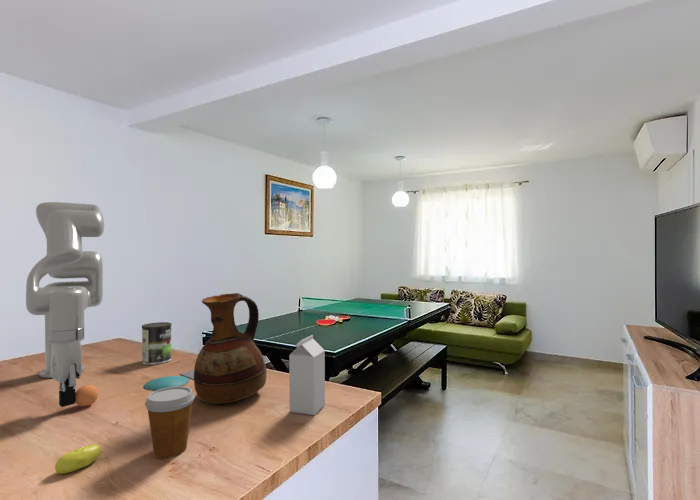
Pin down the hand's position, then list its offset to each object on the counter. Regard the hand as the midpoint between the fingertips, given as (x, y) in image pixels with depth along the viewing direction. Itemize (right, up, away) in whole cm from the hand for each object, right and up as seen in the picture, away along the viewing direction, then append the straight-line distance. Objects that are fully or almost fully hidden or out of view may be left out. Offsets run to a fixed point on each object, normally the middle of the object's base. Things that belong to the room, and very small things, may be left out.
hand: (67, 404), depth 102 cm
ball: (+3, +1, +3) cm, 4 cm away
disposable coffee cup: (+37, -2, -21) cm, 42 cm away
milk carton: (+64, -2, 0) cm, 64 cm away
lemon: (+22, -2, -27) cm, 35 cm away
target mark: (+16, -2, +21) cm, 27 cm away
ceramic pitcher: (+40, -2, +10) cm, 42 cm away
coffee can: (+1, -2, +46) cm, 46 cm away
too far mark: (+24, -2, +31) cm, 39 cm away
